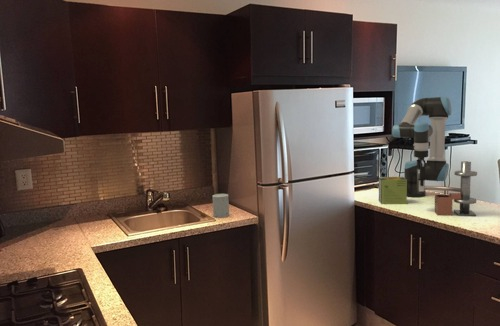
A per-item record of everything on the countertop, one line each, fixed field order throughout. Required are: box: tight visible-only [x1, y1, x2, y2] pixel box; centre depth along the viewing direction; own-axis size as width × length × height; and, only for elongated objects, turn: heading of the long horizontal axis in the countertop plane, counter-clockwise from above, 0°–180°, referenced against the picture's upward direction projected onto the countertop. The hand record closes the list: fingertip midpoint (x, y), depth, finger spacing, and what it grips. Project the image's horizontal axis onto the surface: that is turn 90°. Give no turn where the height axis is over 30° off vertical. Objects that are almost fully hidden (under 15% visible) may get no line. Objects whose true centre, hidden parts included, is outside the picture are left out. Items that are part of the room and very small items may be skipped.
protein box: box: [378, 176, 408, 205], centre depth 267 cm, size 10×15×16 cm
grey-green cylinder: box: [211, 193, 230, 219], centre depth 251 cm, size 10×10×12 cm
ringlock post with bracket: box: [434, 160, 478, 217], centre depth 234 cm, size 11×20×29 cm, turn 78°
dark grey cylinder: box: [417, 169, 426, 194], centre depth 243 cm, size 4×4×14 cm
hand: (420, 190), depth 244 cm, fingers closed on dark grey cylinder, 4 cm apart
